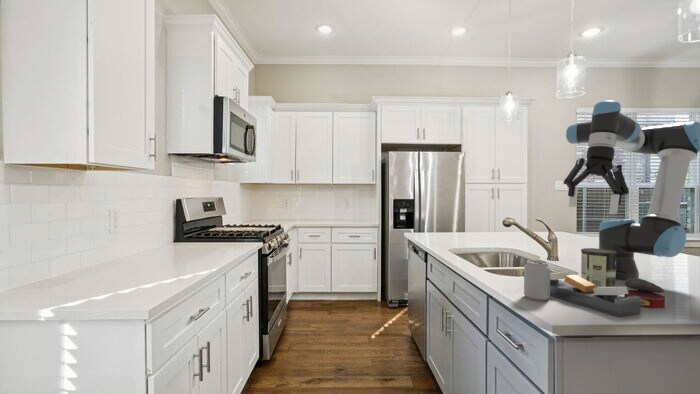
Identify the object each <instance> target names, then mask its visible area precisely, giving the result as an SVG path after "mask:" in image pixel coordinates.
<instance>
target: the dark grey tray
mask: <svg viewBox="0 0 700 394" xmlns="http://www.w3.org/2000/svg"><path fill="white" fill-rule="evenodd" d="M550 297H554V298H557V299H560V300H563V301H566V302H570V303H573V304H575V305H578V306H582V307H585V308H588V309H592V310H595V311H598V312H602V313H604V314H608V315H611V316H614V317H618V318H624V317H629V316H635V315H639V314H641V308H642V307H641V297H638V296H629V297H624V296H622V295H594V291H589V292H583V291H581V290H580V289H578V288H576V287H574V286H572V285H570V284H569V283H567V282H565V281H564V280H562V279H555V280H550Z"/></svg>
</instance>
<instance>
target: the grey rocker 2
mask: <svg viewBox="0 0 700 394" xmlns="http://www.w3.org/2000/svg"><path fill="white" fill-rule="evenodd" d="M593 290H594V295H618V296H622V295H623V296H624V294H628V290H629V289H628V287H627V286H616V287H598V288H593Z"/></svg>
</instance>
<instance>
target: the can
mask: <svg viewBox="0 0 700 394" xmlns="http://www.w3.org/2000/svg"><path fill="white" fill-rule="evenodd" d="M523 268H524V270H523V274H524V275H523V276H524V277H523V295H524V296H525V297H526V298H527V299H528V300H531V299H532V300H533V301H536V302H537V301H538V302H539V301H540V302H544V301H547V300H548V299H550V297H551V296H550V273H551V267H550V265H549V263H548V262H547V261H544V260H537V259H536V260H535V259H529V260H526V264H524V266H523Z"/></svg>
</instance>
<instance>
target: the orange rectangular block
mask: <svg viewBox="0 0 700 394" xmlns="http://www.w3.org/2000/svg"><path fill="white" fill-rule="evenodd" d="M566 275H567V276H566V277H565V279H563V281H565V282H567V283H569V284H570V285H572V286H574V287H576V288H578V289H580V290H581V291H583V292H589V291H594V290H593V288H595V286H596V285H595V284H593V283H591V282H589V281H587V280H585V279H583V278H581V276H579V275H578V274H566Z"/></svg>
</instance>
